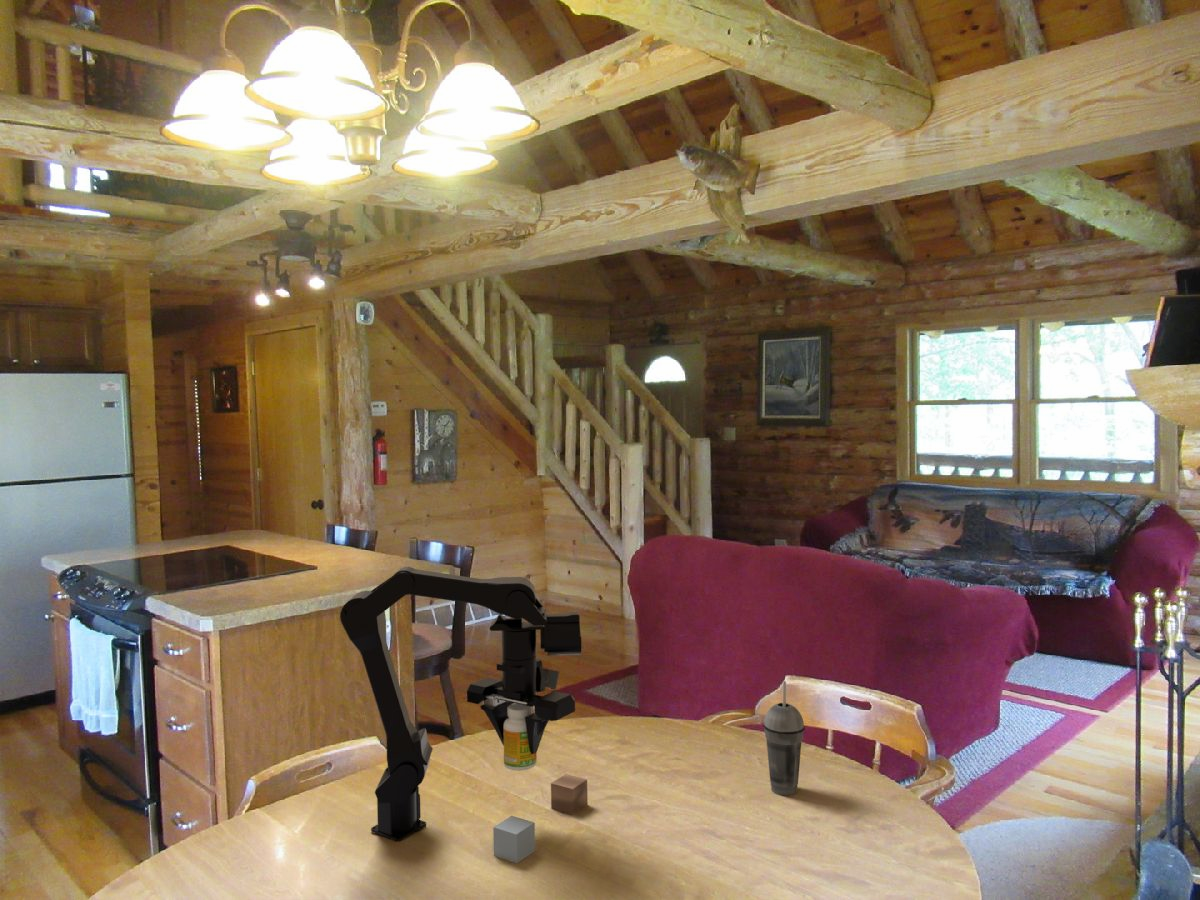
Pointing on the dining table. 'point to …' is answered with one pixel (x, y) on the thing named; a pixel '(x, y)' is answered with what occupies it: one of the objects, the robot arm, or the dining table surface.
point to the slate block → (514, 839)
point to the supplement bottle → (517, 739)
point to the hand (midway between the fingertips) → (520, 749)
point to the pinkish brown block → (569, 794)
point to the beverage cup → (784, 746)
